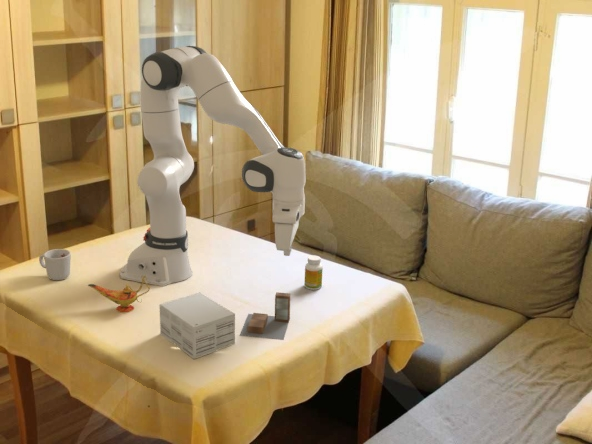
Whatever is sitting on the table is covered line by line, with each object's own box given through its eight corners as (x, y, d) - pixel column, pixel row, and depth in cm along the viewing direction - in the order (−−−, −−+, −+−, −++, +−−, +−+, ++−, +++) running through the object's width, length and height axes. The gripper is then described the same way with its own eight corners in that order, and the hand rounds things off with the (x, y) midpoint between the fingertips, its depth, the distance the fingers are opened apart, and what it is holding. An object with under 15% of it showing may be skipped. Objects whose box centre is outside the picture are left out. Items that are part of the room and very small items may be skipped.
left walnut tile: (253, 319, 211) (248, 332, 204) (253, 312, 211) (248, 326, 203) (267, 320, 211) (262, 334, 203) (267, 314, 210) (262, 327, 203)
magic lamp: (93, 300, 220) (91, 266, 216) (153, 305, 218) (152, 270, 215) (85, 311, 213) (82, 275, 210) (147, 315, 212) (145, 280, 208)
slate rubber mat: (239, 336, 202) (239, 335, 202) (248, 315, 215) (248, 313, 214) (283, 341, 201) (283, 339, 201) (290, 318, 213) (290, 317, 213)
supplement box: (236, 345, 199) (236, 313, 195) (194, 360, 190) (193, 327, 187) (200, 321, 211) (200, 290, 207) (159, 334, 202) (158, 303, 199)
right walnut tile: (274, 321, 211) (275, 295, 208) (275, 317, 213) (276, 292, 210) (288, 322, 210) (289, 296, 207) (289, 319, 212) (290, 293, 209)
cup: (32, 277, 233) (30, 254, 230) (49, 268, 240) (47, 245, 237) (61, 284, 229) (59, 260, 227) (77, 274, 236) (76, 251, 234)
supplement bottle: (320, 291, 231) (321, 262, 228) (302, 289, 232) (304, 260, 229) (323, 284, 236) (324, 255, 233) (306, 282, 237) (307, 253, 234)
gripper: (282, 195, 216) (281, 239, 221) (271, 218, 197) (270, 267, 202) (304, 196, 216) (303, 241, 220) (295, 220, 196) (293, 268, 201)
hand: (287, 253), depth 211 cm, fingers closed
